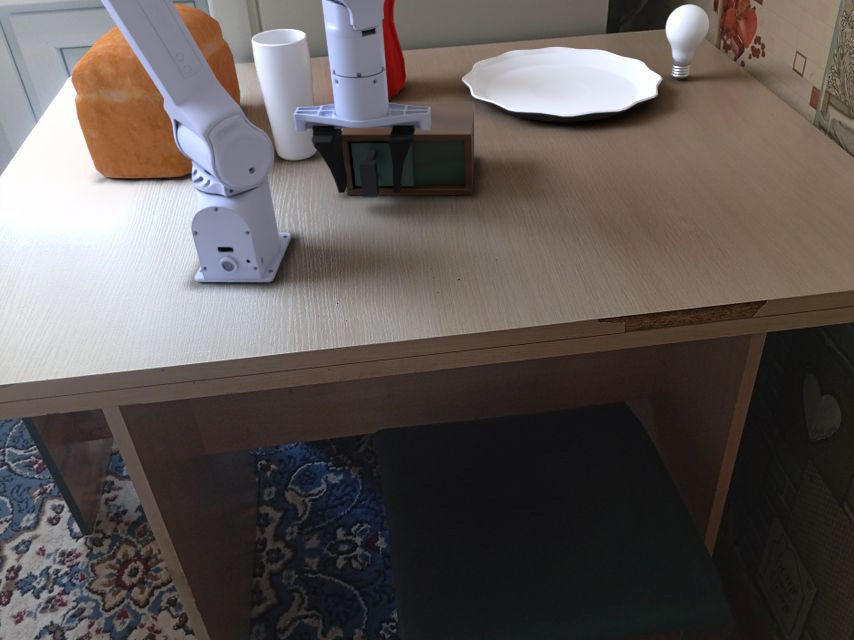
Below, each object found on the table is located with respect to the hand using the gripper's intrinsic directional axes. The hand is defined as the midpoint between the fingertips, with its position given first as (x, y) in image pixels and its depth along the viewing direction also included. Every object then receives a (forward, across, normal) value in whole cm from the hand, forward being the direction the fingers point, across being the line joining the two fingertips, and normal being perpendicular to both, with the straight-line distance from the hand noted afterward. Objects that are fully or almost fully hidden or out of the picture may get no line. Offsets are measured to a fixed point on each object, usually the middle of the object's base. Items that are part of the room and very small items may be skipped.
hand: (370, 189), depth 90 cm
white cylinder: (+3, +12, -16) cm, 20 cm away
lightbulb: (+3, -43, -44) cm, 61 cm away
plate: (+3, -24, -38) cm, 45 cm away
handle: (+2, -1, -2) cm, 3 cm away
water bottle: (+3, +5, -38) cm, 38 cm away
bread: (+3, +30, -21) cm, 36 cm away
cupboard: (+3, -4, -9) cm, 10 cm away
